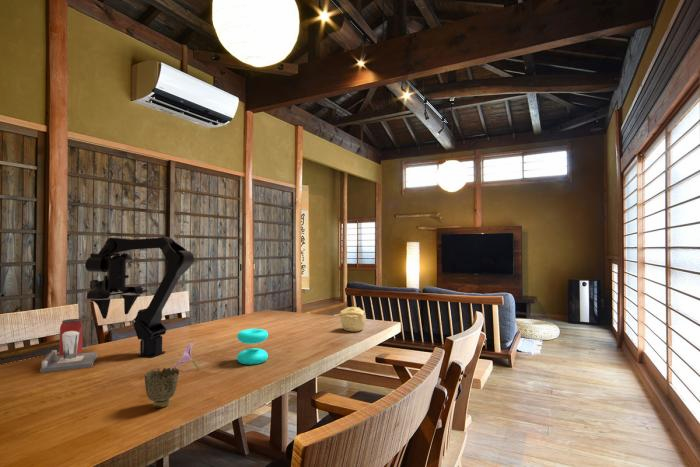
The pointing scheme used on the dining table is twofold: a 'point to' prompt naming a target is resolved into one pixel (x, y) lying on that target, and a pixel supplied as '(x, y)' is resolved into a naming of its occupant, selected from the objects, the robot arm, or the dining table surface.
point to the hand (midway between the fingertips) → (115, 316)
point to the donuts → (252, 354)
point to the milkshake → (70, 344)
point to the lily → (186, 355)
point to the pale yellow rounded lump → (353, 319)
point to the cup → (161, 386)
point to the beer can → (71, 326)
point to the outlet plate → (67, 362)
